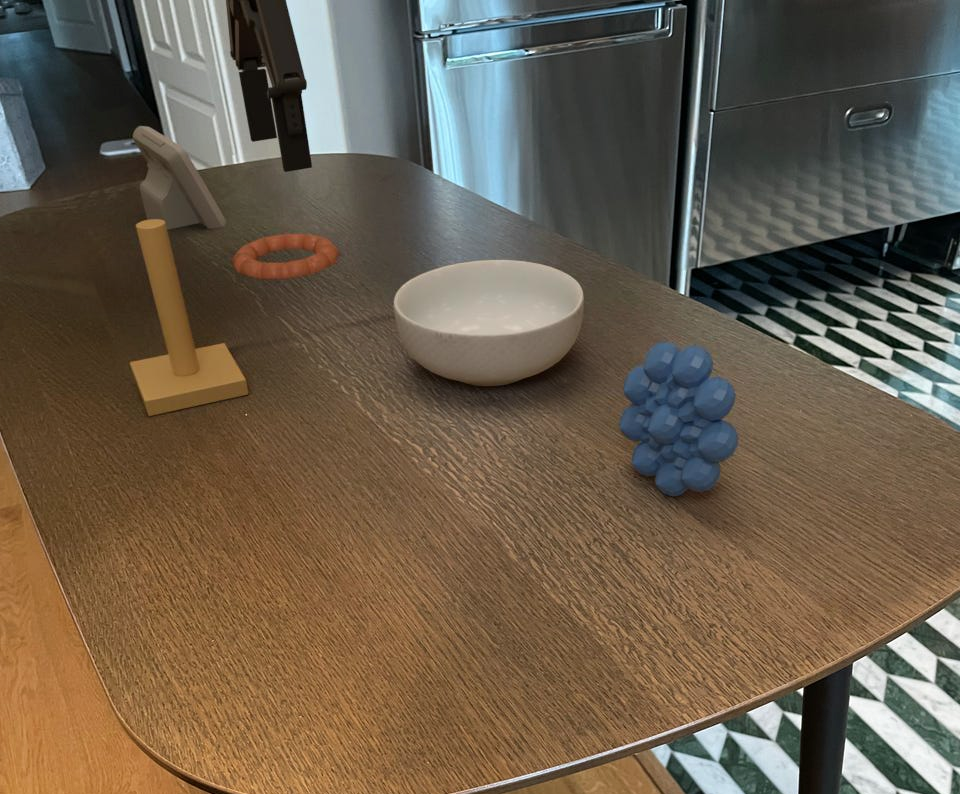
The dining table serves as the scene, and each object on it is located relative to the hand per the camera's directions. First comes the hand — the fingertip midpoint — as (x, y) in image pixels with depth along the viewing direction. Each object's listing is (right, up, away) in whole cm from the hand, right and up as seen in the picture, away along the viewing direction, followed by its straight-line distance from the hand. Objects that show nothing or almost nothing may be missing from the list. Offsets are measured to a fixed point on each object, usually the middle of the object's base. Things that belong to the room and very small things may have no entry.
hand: (280, 153), depth 103 cm
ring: (-2, -7, +11) cm, 13 cm away
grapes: (+36, -39, -28) cm, 60 cm away
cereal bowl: (+22, -25, -10) cm, 35 cm away
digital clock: (-17, +4, +26) cm, 32 cm away
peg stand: (-6, -27, -11) cm, 29 cm away
